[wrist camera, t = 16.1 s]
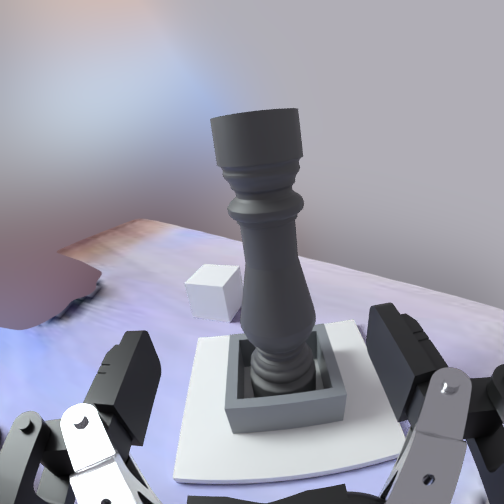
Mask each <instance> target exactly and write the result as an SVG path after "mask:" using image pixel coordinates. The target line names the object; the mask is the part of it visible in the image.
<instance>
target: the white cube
mask: <svg viewBox="0 0 504 504" xmlns="http://www.w3.org/2000/svg"><path fill="white" fill-rule="evenodd" d="M184 284H185V288H186V292H187V296H188V300H189V304H190V307H191V311H192V315H193V318H198V319H205V320H212V321H219V322H226V323H230V322H231V321H232V319H233V318H234V316H235V315H236V313H237V312H238V310H239V309H240V307H241V306H242V297H243V284H242V278H241V272H240V266H228V265H209V264H204V265H203V266H202V267H201V268H200V269H198V270H197V271H196V272H195V273H194V274H193V275H192V276H191V277H190V278H189V279H188V280H187V281H186V282H185V283H184Z"/></svg>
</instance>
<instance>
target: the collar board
mask: <svg viewBox="0 0 504 504" xmlns="http://www.w3.org/2000/svg"><path fill="white" fill-rule="evenodd" d="M306 344H307V345H308V346H309V347H310V348H311V350H312V353H313V360H314V361H315V367H316V390H315V391H309V392H302V393H294V394H286V395H278V396H268V397H258V398H255V397H254V393H253V388H252V383H251V378H250V370H251V355H252V353H253V352H254V350H255V349H256V347H255V346H254V345H253V344H252V343H251V342H250V341H249V340H248V338H247V337H246V335H245V334H234V335H228V336H217V337H204V338H198V343H197V348H196V353H195V358H194V363H193V368H192V373H191V378H190V383H189V388H188V393H187V399H186V404H185V409H184V415H183V420H182V426H181V431H180V437H179V443H178V449H177V455H176V461H175V467H174V473H173V479H174V480H175V481H176V482H178V483H195V484H247V483H265V482H277V481H287V480H296V479H303V478H310V477H317V476H323V475H329V474H334V473H339V472H344V471H349V470H354V469H358V468H362V467H366V466H370V465H374V464H378V463H382V462H385V461H389V460H392V459H396V458H398V456H399V453H400V451H401V449H402V446H403V444H404V441H405V439H406V438H405V435H404V433H403V430H402V428H401V425H400V423H399V422H397V420H396V417H395V415H394V412H393V410H392V408H391V405H390V403H389V400H388V398H387V396H386V393H385V391H384V389H383V386H382V384H381V382H380V379H379V377H378V375H377V373H376V370H375V368H374V366H373V364H372V361H371V359H370V357H369V355H368V351H367V347H366V345H365V342H364V340H363V338H362V336H361V334H360V332H359V330H358V327H357V325H356V323H355V321H354V319H353V320H347V321H341V322H334V323H328V324H318V325H314V327H313V330H312V332H311V334H310V336H309V337H308V339H307V340H306Z"/></svg>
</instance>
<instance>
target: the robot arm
mask: <svg viewBox="0 0 504 504" xmlns="http://www.w3.org/2000/svg"><path fill="white" fill-rule="evenodd" d="M366 346H367V351H368V355H369V357H370V359H371V361H372V364H373V366H374V368H375V370H376V373H377V375H378V377H379V379H380V382H381V384H382V386H383V389H384V391H385V393H386V396H387V398H388V400H389V403H390V405H391V408H392V410H393V412H394V415H395V417H396V420H397V422H401V421H405V420H409V422H410V425H411V426H410V429H409V431H408V434H407V436H406V439H405V441H404V444H403V446H402V449H401V451H400V453H399V456H398V458H397V460H396V463H395V465H394V467H393V469H392V472H391V474H390V476H389V478H388V479H387V481H386V483H385V485H384V487H383V489H382V490H381V492H380V494H379V496H378V497H377V496H374V495H371V494H366V493H361V492H347V491H346V486H345V484H341V485H336V486H331V487H326V488H320V489H314V490H307V491H304V492H301V493H298V494H296V495H293V496H290V497H287V498H284V499H280V500H277V501H274V502H271V503H257V502H251V501H245V500H239V499H234V498H229V497H210V496H188V498H187V504H450V503H451V500H452V497H453V494H454V491H455V488H456V485H457V482H458V478H459V475H460V472H461V468H462V464H463V460H464V456H465V452H466V447H467V444H468V446H469V448H470V451H471V453H472V456H473V458H474V461H475V463H476V466H477V469H478V471H479V474H480V477H481V479H482V482H483V485H484V488H485V491H486V494H487V497H488V500H489V503H490V504H504V427H503V425H502V424H504V364H502V365H500V366H498V367H497V368H496V369H495V370H494V372H493V374H492V376H491V377H486V378H469V377H468V375H467V374H466V373H464V372H463V371H461V370H459V369H457V368H452V367H448V365H447V364H446V362H445V361H444V359H443V358H442V356H441V355H440V353H439V352H438V350H437V349H436V348H435V346H434V345H433V343H432V342H431V340H429V337H428V336H427V335H426V333H425V332H423V329H422V327H421V326H420V325H419V323H418V322H417V321H416V320H415V319H413V318H412V317H410V316H409V315H407V314H401V315H400V313H399V312H398V310H397V309H396V308H395V306H394V305H393V304H392V303H385V304H380V305H374V306H371V308H370V312H369V321H368V329H367V337H366ZM160 377H161V365H160V361H159V358H158V356H157V353H156V351H155V348H154V346H153V343H152V341H151V338H150V336H149V334H148V332H147V331H145V330H144V331H127V332H125V334H124V336H123V338H122V340H121V342H120V344H119V345H115V346H114V347H113V348H112V349H111V350H110V351H109V352H108V353H107V354H106V355H105V358H104V360H103V362H102V366H100V368H99V370H98V374H96V376H95V378H94V380H93V382H92V385H91V387H90V389H89V391H88V393H87V396H86V398H85V400H84V402H83V404H78V405H75V406H73V407H71V408H70V409H68V410H67V411H66V412H65V413H64V415H63V417H62V419H56V420H49V421H44V420H43V419H42V418H41V416H40V415H39V414H38V413H37V412H34V411H27V412H24V413H22V414H20V415H19V416H18V417H17V418H16V419H15V421H14V422H13V424H12V426H11V429H10V431H9V433H8V435H7V437H6V440H5V442H4V444H3V447H2V449H1V451H0V504H74V501H75V496H76V498H77V501H78V503H79V504H162V502H161V501H160V500H159V499H158V498H157V497H156V495H155V494H154V493H153V491H152V490H151V488H150V486H149V485H148V483H147V481H146V480H145V478H144V476H143V475H142V473H141V471H140V470H139V468H138V466H137V464H136V463H135V461H134V459H133V457H132V456H131V454H130V453H129V451H130V447H131V445H135V446H143V442H144V438H145V434H146V430H147V426H148V422H149V418H150V414H151V410H152V407H153V403H154V399H155V395H156V392H157V388H158V384H159V381H160ZM463 439H466V441H467V443H466V441H463ZM40 463H41V464H42V465H43V466H44V470H43V473H42V476H41V479H40V483H39V486H38V489H37V493H35V491H34V488H33V483H34V479H35V476H36V473H37V470H38V467H39V464H40Z"/></svg>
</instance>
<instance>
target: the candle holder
mask: <svg viewBox="0 0 504 504" xmlns="http://www.w3.org/2000/svg"><path fill="white" fill-rule="evenodd" d="M210 121H211V127H212V133H213V141H214V148H215V154H216V161H217V165H218V166H219V167H221V168H222V170H223V177H224V178H225V179H226V180H227V181H228V182H229V184H230V186H231V189H232V190H234V191H235V193H236V197H235V198H234V199H233V200H232V201H231V202H230V204H229V206H228V208H227V210H228V214H229V216H230V217H231V218H233V219H234V220H236V221H237V223H238V224H239V225H240V227H241V235H242V242H243V249H244V255H245V262H246V264H245V275H244V286H243V297H242V307H241V317H240V323H241V328H242V330H243V331H244V333H245V335H246V337H247V338H248V340H249V341H250V342H251V343H252V344H253V345H254V346H255V347H256V349H255V350H254V352H253V353H252V355H251V370H250V378H251V383H252V388H253V393H254V397H255V398H258V397H268V396H278V395H286V394H294V393H302V392H309V391H315V390H316V367H315V361H314V360H313V353H312V350H311V348H310V347H309V346H308V345H307V344H306V340H307V339H308V337H309V336H310V334H311V332H312V330H313V327H314V325H315V321H316V316H315V310H314V306H313V303H312V299H311V296H310V293H309V290H308V287H307V284H306V280H305V277H304V274H303V271H302V268H301V265H300V261H299V258H298V252H297V239H296V227H295V219H296V218H297V214H298V213H299V212H300V211H301V210H302V209H303V206H304V201H303V198H302V196H300V195H299V194H298V193H296V192H294V191H293V190H292V185H293V183H294V182H295V177H296V174H297V173H298V171H299V169H300V165H299V159H300V158H301V157H303V151H302V141H301V132H300V123H299V114H298V109H296V108H290V109H289V108H287V109H271V110H260V111H252V112H244V113H237V114H231V115H225V116H220V117H216V118H212V119H210Z"/></svg>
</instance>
